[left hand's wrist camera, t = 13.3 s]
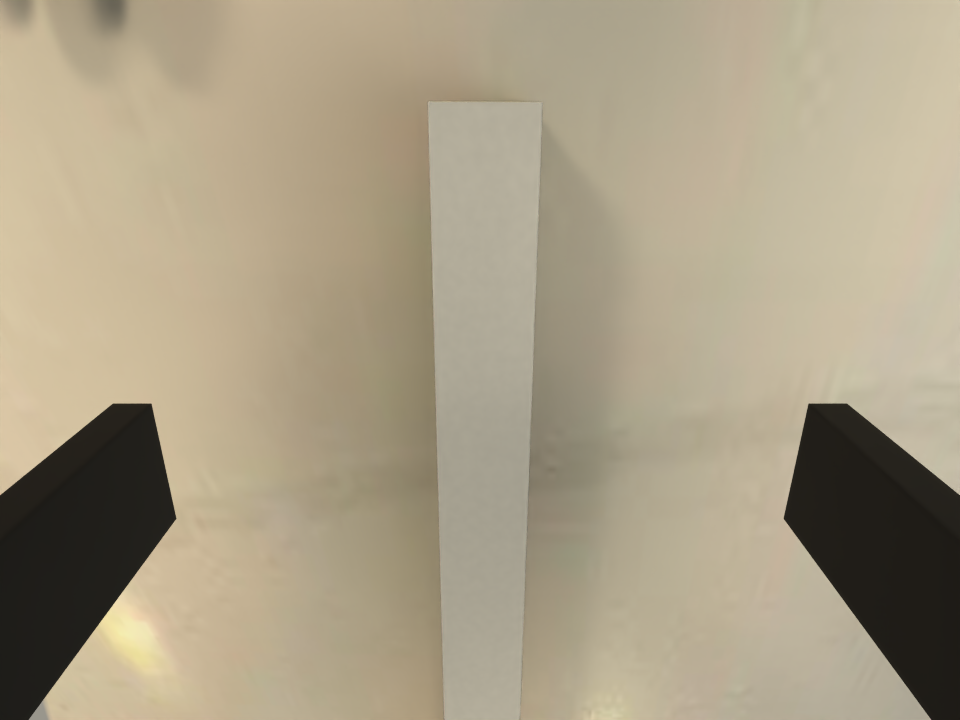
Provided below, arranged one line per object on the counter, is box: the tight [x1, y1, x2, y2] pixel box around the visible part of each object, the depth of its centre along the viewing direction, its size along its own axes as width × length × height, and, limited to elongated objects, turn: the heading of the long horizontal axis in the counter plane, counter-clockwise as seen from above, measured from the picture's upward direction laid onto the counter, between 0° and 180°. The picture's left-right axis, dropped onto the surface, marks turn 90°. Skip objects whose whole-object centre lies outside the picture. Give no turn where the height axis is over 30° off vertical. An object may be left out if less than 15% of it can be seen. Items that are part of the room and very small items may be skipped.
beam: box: [428, 101, 543, 720], centre depth 41 cm, size 64×5×8 cm, turn 0°
